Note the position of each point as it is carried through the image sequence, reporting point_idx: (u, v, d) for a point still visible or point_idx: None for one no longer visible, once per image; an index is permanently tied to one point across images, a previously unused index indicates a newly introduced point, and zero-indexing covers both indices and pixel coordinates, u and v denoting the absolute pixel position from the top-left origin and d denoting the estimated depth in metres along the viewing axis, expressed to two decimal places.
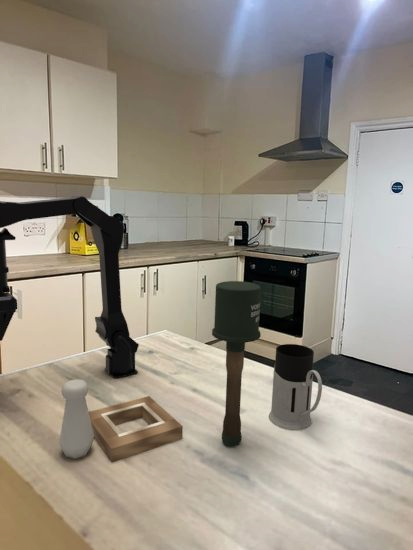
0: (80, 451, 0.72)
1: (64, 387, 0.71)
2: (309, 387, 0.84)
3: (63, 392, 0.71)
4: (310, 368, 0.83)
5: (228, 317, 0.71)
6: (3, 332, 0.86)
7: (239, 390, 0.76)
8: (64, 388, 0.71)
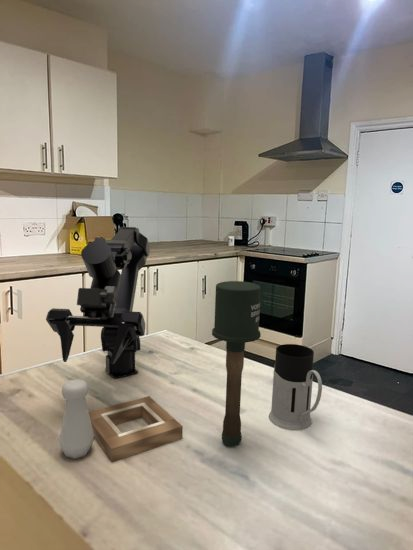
0: (80, 451, 0.72)
1: (64, 387, 0.71)
2: (309, 387, 0.84)
3: (63, 392, 0.71)
4: (310, 368, 0.83)
5: (228, 317, 0.71)
6: (118, 356, 0.81)
7: (239, 390, 0.76)
8: (64, 388, 0.71)
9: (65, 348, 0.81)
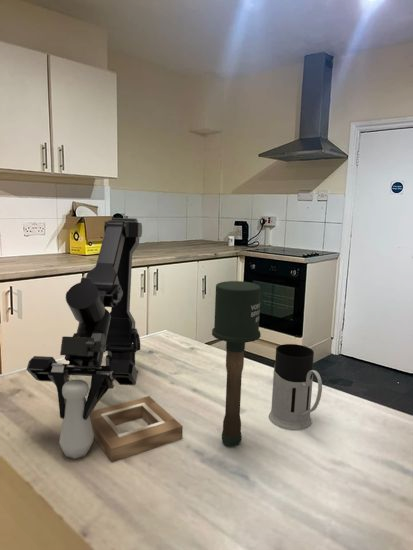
0: (80, 451, 0.72)
1: (65, 387, 0.71)
2: (309, 387, 0.84)
3: (63, 392, 0.71)
4: (310, 368, 0.83)
5: (228, 317, 0.71)
6: (92, 409, 0.74)
7: (239, 390, 0.76)
8: (64, 388, 0.71)
9: (63, 403, 0.73)
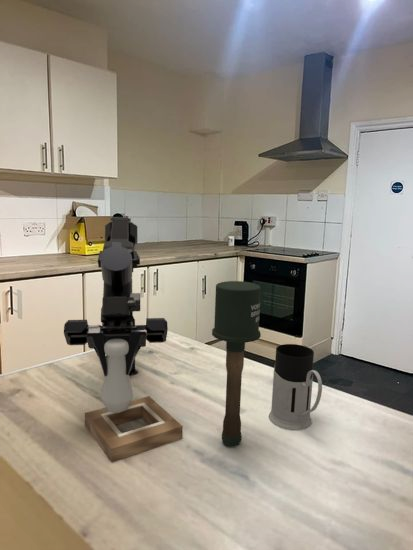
0: (125, 404, 0.76)
1: (108, 345, 0.74)
2: (309, 387, 0.84)
3: (107, 350, 0.74)
4: (310, 368, 0.83)
5: (228, 317, 0.71)
6: (131, 365, 0.78)
7: (239, 390, 0.76)
8: (108, 346, 0.74)
9: (105, 361, 0.76)
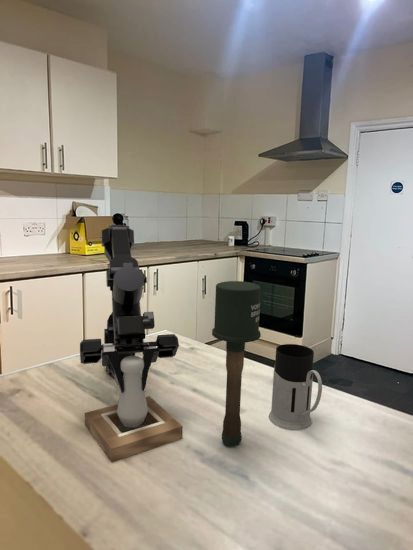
0: (141, 419, 0.79)
1: (126, 363, 0.77)
2: (309, 387, 0.84)
3: (125, 367, 0.77)
4: (310, 368, 0.83)
5: (228, 317, 0.71)
6: None
7: (239, 390, 0.76)
8: (126, 364, 0.77)
9: (121, 378, 0.79)
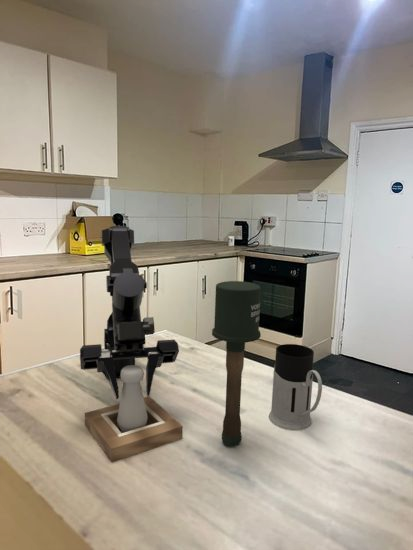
0: None
1: (126, 372, 0.78)
2: (309, 387, 0.84)
3: (125, 377, 0.77)
4: (310, 368, 0.83)
5: (228, 317, 0.71)
6: None
7: (239, 390, 0.76)
8: (126, 374, 0.77)
9: (116, 385, 0.78)
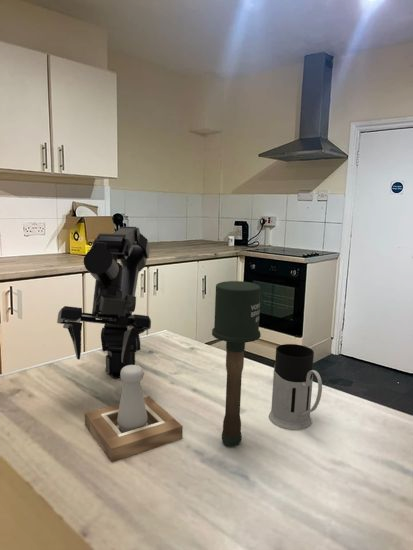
0: None
1: (126, 372, 0.78)
2: (309, 387, 0.84)
3: (125, 377, 0.78)
4: (310, 368, 0.83)
5: (228, 317, 0.71)
6: None
7: (239, 390, 0.76)
8: (125, 373, 0.78)
9: (80, 347, 0.85)
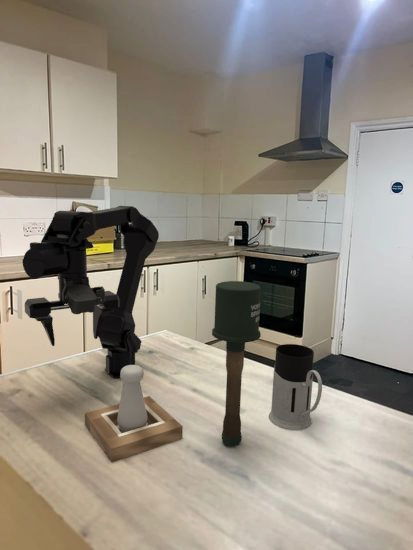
0: None
1: (125, 372, 0.78)
2: (309, 387, 0.84)
3: (125, 377, 0.78)
4: (310, 368, 0.83)
5: (228, 317, 0.71)
6: None
7: (239, 390, 0.76)
8: (125, 373, 0.78)
9: (53, 336, 0.88)
